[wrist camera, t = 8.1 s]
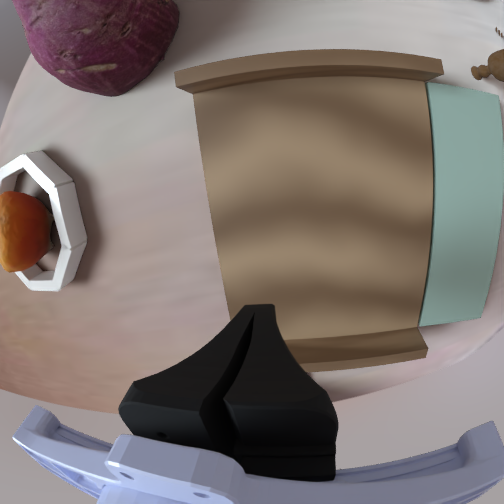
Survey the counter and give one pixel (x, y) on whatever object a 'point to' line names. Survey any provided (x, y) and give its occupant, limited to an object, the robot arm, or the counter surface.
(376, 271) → the tan lipped tray
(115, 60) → the vegetable
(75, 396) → the counter surface
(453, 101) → the panel
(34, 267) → the fruit dish
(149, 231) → the counter surface
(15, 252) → the fruit
